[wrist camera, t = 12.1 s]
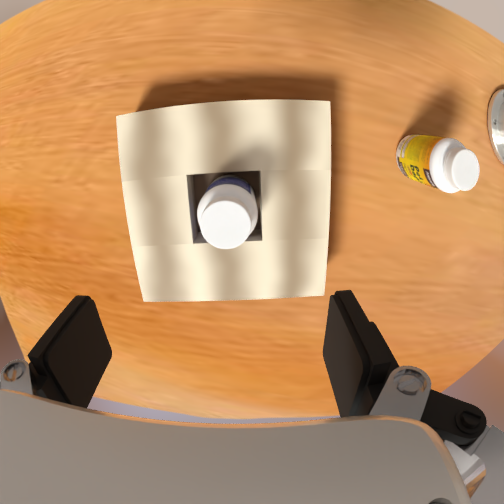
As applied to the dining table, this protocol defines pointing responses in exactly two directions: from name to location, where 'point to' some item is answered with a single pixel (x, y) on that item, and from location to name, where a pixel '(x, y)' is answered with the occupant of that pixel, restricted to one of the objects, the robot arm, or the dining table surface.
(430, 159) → the supplement bottle
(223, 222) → the pill bottle
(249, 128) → the socket block
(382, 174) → the dining table surface
